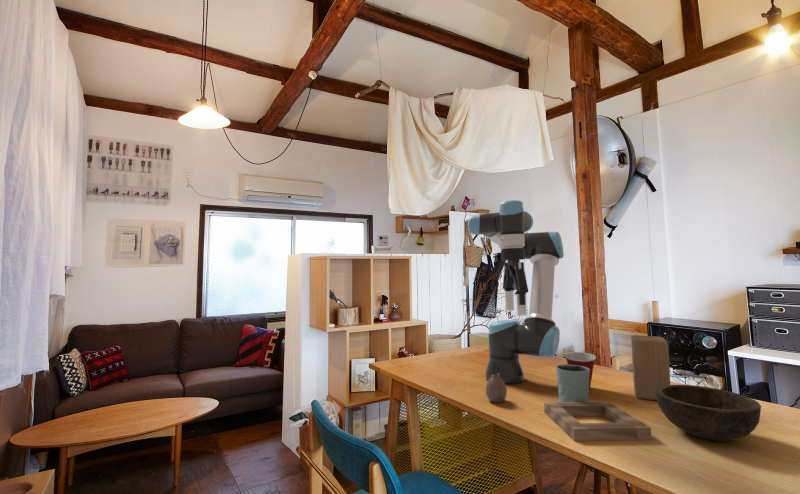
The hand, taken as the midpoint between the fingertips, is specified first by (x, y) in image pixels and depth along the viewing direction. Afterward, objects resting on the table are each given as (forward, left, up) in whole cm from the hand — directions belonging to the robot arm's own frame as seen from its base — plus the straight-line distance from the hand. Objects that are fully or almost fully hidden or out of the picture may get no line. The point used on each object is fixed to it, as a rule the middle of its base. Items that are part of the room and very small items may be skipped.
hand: (515, 312), depth 126 cm
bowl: (+23, +42, -30) cm, 57 cm away
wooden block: (-8, +48, -30) cm, 58 cm away
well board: (+15, +16, -30) cm, 37 cm away
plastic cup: (-19, +29, -30) cm, 46 cm away
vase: (-6, -6, -30) cm, 31 cm away
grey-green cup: (-1, +18, -30) cm, 35 cm away
